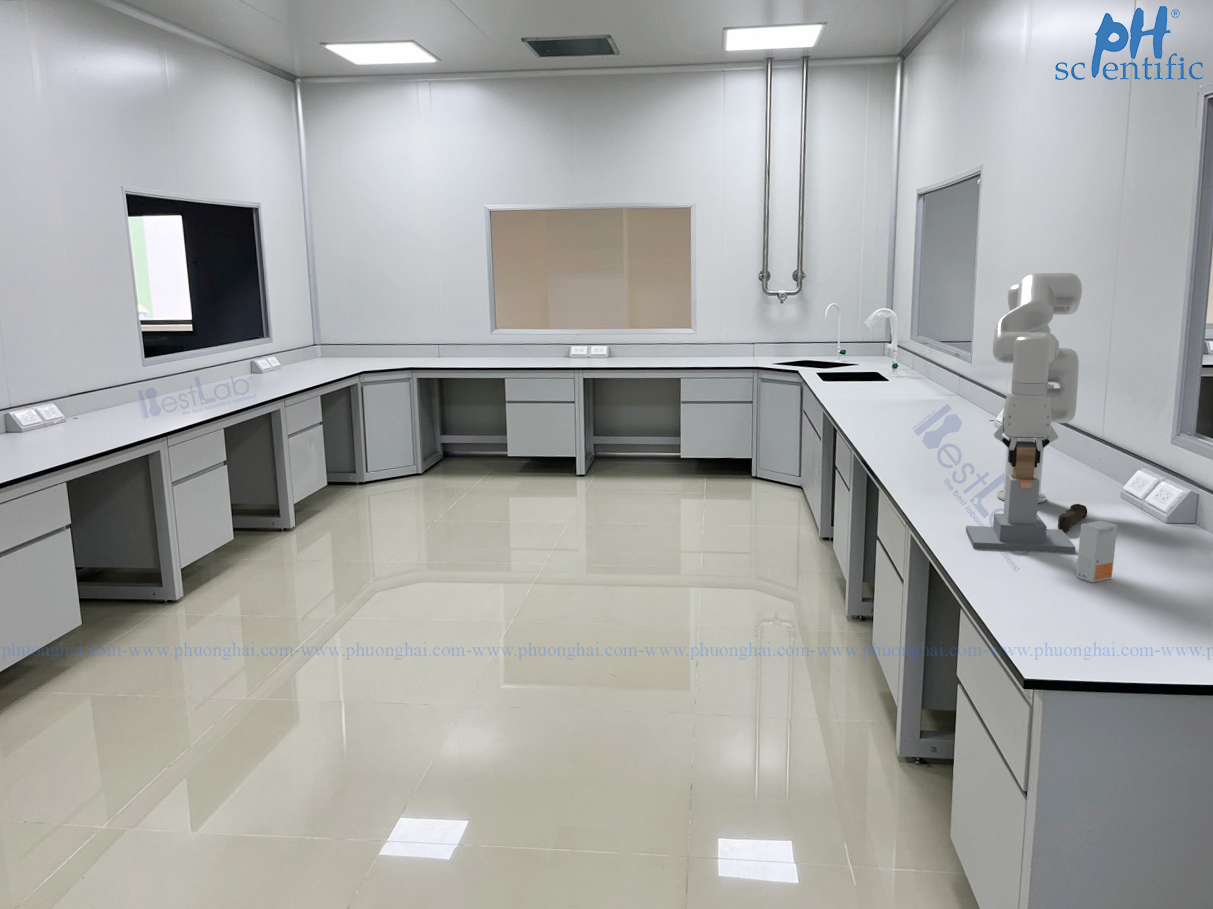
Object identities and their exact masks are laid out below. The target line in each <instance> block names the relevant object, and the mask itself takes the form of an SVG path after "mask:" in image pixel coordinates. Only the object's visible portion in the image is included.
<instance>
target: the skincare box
mask: <svg viewBox="0 0 1213 909" xmlns="http://www.w3.org/2000/svg"><path fill="white" fill-rule="evenodd" d="M1117 532H1118V524H1114V523H1112V522H1108V521H1104V520H1096V521H1090V522H1088V523H1086V522H1085V523H1082V524H1081V525H1080V533H1079V534H1080V535H1079V543H1078V544H1079V545H1078V555H1077V563H1076V571H1075V572H1076V574H1075V577H1076V578H1078V579H1080V580H1084V581H1087V582H1089V583H1097V582H1101V581H1105V580H1112V579H1113V571H1114V570H1113V569H1114V561H1115V560H1114V559H1115V552H1116V551H1115V550H1116V540H1117V534H1118V533H1117Z"/></svg>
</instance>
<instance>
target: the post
mask: <svg viewBox="0 0 1213 909" xmlns="http://www.w3.org/2000/svg"><path fill="white" fill-rule="evenodd" d="M1015 448H1016V449H1015V450H1016V451H1017V453H1016V466H1015V467H1013V470H1012V477H1013V479H1020V480H1033V479H1034V466H1035V452H1036V444H1035V443H1034V442H1033V441H1017V442H1016V445H1015Z"/></svg>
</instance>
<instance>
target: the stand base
mask: <svg viewBox="0 0 1213 909" xmlns="http://www.w3.org/2000/svg"><path fill="white" fill-rule="evenodd" d="M1038 494H1039V480H1038V479H1037V477H1036V476H1035V475H1034V479H1033V480H1020V479H1013V477H1012V474H1006V488H1005V501H1004V506H1003V513H995V512H994V513H993V520H992V522H993V524H992V526H988V525H987V526H985V525H984V526H983V525H982V526H981V525H966V526H965V533H966V535H967V537H968V539H969V541H970V544H971V546H972V548H973V549H978V550H998V551H999V550H1001V551H1019V552H1040V553H1041V552H1042V553H1061V554H1062V553H1063V554H1075V553H1076V545H1075V544H1074V543H1073V542H1072V541H1071V540H1070V538H1069V537H1068V536H1067V534H1066V533H1064V532H1063V531H1062V530H1059V529H1058V528H1057V529H1056V528H1055V529H1053V528H1052V529H1051V528H1047V525H1046V524H1045V523H1044V521H1043V519H1042V518H1041V517H1040V516H1039V515H1038V504H1039V503H1038Z"/></svg>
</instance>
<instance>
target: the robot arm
mask: <svg viewBox="0 0 1213 909" xmlns="http://www.w3.org/2000/svg"><path fill="white" fill-rule="evenodd" d="M1082 289H1083V287H1082V282H1081V279H1080V277H1079V276H1078V275H1077V274H1076V273H1072V272H1039V273H1037V272H1036V273H1031V274H1029V275H1026V276H1025V277H1023V278H1022V280H1021V281H1020V282H1019V283H1017V284H1014V285H1012V286H1011V287H1010V288H1009V289H1008V293H1007V302H1008V304H1007V305H1008V309H1009V311H1008V313H1006V314H1004V315H1003V316H1002V317H1001V318H1000V319H999V321H998V322H997V323H996V326H995V328H994V336H993V341H992V354H993V357H994V359H995V360H996V362H998V363H1001V364H1012V374H1011V375H1012V376H1011V389H1010V391H1009V392H1008V393H1007V394H1006V398H1005V401H1004V405H1003V406H1004V407H1003V410H1002V411H1003V412H1002V419H1001V421H1002V422H1001V425H1000V426H999V427H998V428H997V430H995V432H994V433H993V437H994V438H995V439H997V440H998V441H999V442H1002V443H1003V445H1004V446H1006V449H1005V462H1004V476H1003V477H1004V478H1003V489H1001V490H999V491H997V495H996V497H997V498H999V500H1001V501H1004V502H1005V488H1006V474H1012V470H1013V467H1015V466H1016V453H1017V451H1016V450H1015V449H1016V448H1015V445H1016V442H1017V441H1033V442H1034V443H1035V444H1036V452H1035V466H1034V475H1035V476H1036V477H1037V479H1038V480H1039V494H1038V504H1041V503H1044V502H1046V501H1047V495H1046V494H1045V493H1042V492H1041V489H1042V476H1043V464H1044V452H1045V451H1044V448H1045V447H1046V446H1048V445H1049V444H1050V443H1052V442H1054V441H1056V440H1058V439H1059V435H1058V434H1057V433H1056V430H1055V429H1054V427H1053V426H1052V423H1054V424H1066V423H1068V424H1069V423H1070V422H1072V421H1073V419H1075V415H1076V412H1077V400H1078V387H1079V386H1078V385H1079V370H1080V368H1079V367H1080V366H1079V362H1080V361H1079V356H1078V353H1077V352H1076V351H1075V350H1074V349H1072V348H1068V347H1060V343H1059V340H1058V339H1057V337H1056V336H1055V335H1054V334H1053V333H1051V327H1050V326H1049V324H1050V322H1052V320H1053V317H1054V315H1056V316H1057V315H1062V316H1063V315H1064V316H1065V315H1072V314H1075V313H1076V312H1077V310H1078V309H1079V306H1080V301H1081V300H1082V299H1081V298H1082V293H1083V290H1082ZM1050 383H1053V384H1050ZM1054 384H1057V385H1058V386H1059V387H1055V385H1054ZM1003 434H1004V435H1003ZM1005 436H1006V437H1005Z"/></svg>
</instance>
